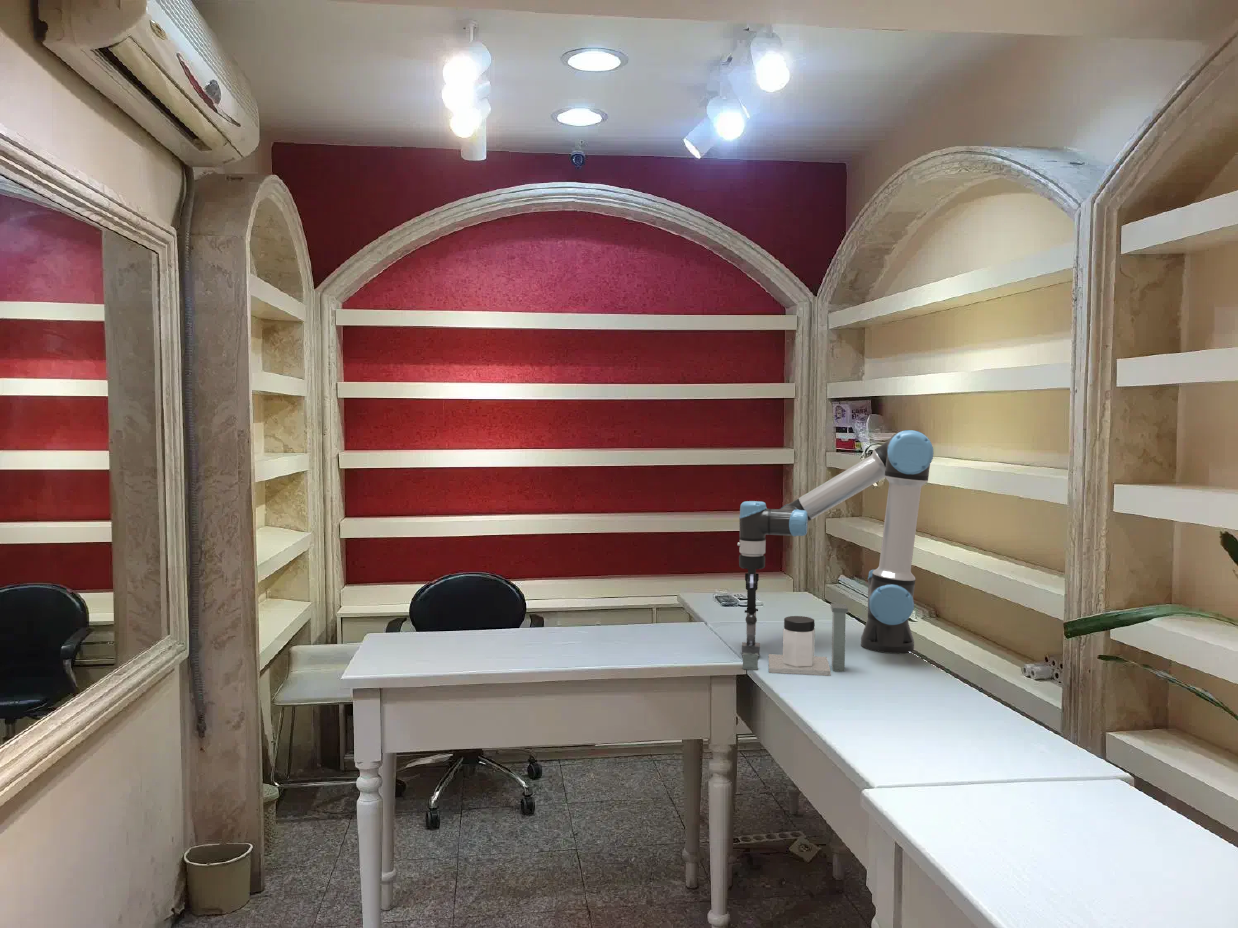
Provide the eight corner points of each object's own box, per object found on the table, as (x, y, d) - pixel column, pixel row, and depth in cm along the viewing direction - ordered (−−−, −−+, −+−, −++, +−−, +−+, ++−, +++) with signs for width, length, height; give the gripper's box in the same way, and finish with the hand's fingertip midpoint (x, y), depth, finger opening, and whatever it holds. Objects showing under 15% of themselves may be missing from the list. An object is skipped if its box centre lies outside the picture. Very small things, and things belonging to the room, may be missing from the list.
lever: (759, 651, 251) (760, 612, 250) (759, 654, 247) (760, 616, 246) (742, 650, 252) (742, 612, 251) (741, 654, 248) (742, 615, 247)
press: (842, 658, 247) (843, 598, 246) (848, 676, 230) (849, 611, 230) (743, 654, 252) (744, 594, 251) (742, 671, 235) (743, 607, 234)
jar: (821, 663, 238) (822, 619, 238) (802, 668, 233) (802, 624, 232) (795, 656, 245) (796, 614, 244) (776, 661, 240) (776, 618, 239)
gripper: (739, 550, 263) (738, 628, 264) (738, 557, 250) (737, 638, 252) (765, 551, 262) (764, 629, 263) (765, 558, 249) (764, 640, 250)
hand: (751, 633), depth 257 cm, fingers closed
